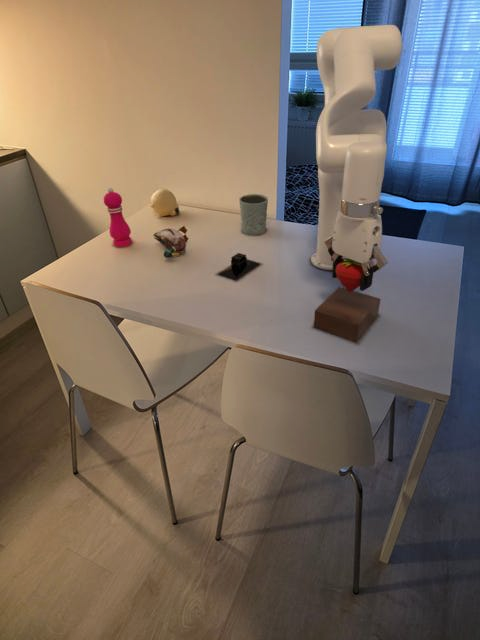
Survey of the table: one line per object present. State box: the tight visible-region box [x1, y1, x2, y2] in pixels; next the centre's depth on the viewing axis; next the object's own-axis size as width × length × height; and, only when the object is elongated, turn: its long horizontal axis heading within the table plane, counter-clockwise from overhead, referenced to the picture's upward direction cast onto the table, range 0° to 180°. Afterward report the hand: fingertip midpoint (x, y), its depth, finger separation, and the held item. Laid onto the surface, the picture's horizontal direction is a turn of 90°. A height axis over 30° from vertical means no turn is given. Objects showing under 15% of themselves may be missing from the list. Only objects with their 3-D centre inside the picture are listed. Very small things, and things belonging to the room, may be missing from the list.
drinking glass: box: [238, 193, 269, 236], centre depth 148 cm, size 10×10×12 cm
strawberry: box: [335, 258, 364, 292], centre depth 94 cm, size 6×8×10 cm
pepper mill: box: [103, 187, 132, 248], centre depth 142 cm, size 7×7×20 cm
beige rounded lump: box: [149, 188, 180, 218], centre depth 167 cm, size 10×12×11 cm
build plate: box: [217, 252, 261, 281], centre depth 126 cm, size 12×7×5 cm, turn 143°
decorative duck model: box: [152, 225, 190, 259], centre depth 137 cm, size 15×8×15 cm
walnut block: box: [313, 286, 382, 343], centre depth 100 cm, size 13×11×5 cm
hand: (350, 281), depth 95 cm, fingers closed on strawberry, 7 cm apart
